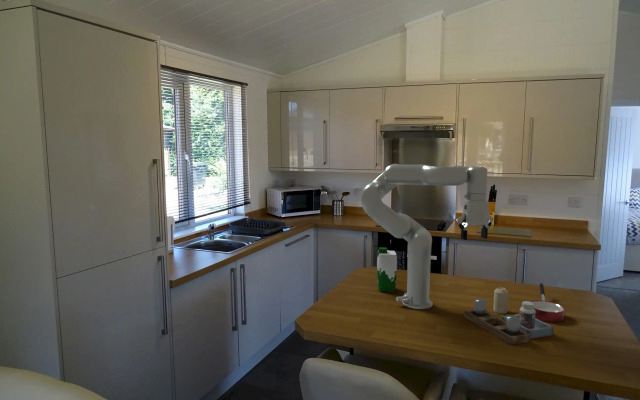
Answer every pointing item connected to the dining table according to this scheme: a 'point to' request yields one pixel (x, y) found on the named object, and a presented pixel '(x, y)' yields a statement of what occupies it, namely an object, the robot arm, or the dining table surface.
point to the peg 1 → (480, 307)
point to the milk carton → (386, 270)
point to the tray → (536, 328)
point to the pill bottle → (527, 315)
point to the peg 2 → (512, 325)
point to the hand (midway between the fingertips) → (474, 238)
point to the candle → (501, 300)
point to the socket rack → (497, 327)
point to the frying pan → (548, 309)
